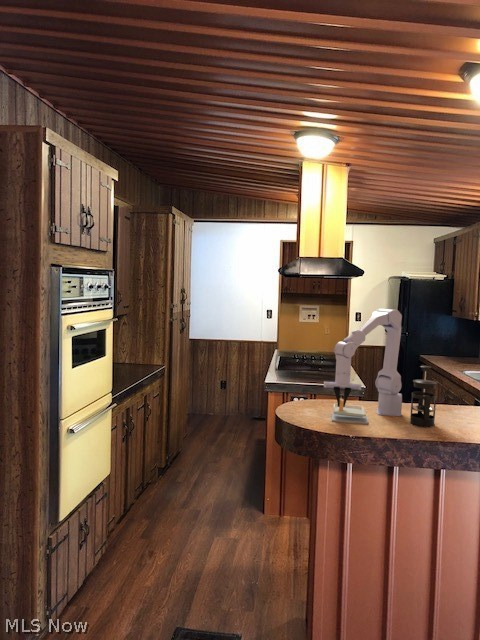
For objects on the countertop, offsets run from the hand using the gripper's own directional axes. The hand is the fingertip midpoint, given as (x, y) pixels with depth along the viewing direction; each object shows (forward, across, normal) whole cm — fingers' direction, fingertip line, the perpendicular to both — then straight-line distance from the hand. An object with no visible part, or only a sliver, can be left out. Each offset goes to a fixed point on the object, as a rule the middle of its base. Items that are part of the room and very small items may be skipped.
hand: (341, 406), depth 213 cm
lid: (+3, +3, 0) cm, 5 cm away
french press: (+5, +32, +1) cm, 32 cm away
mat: (+5, +4, 0) cm, 6 cm away
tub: (+5, +4, +11) cm, 13 cm away
